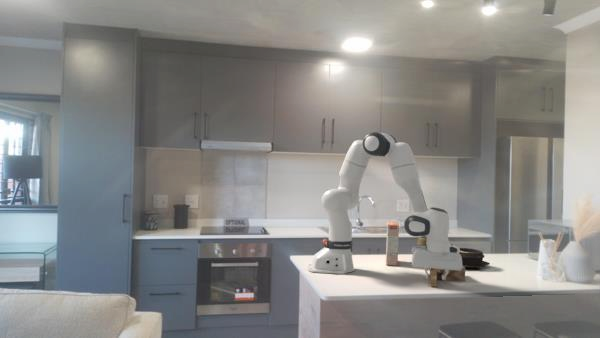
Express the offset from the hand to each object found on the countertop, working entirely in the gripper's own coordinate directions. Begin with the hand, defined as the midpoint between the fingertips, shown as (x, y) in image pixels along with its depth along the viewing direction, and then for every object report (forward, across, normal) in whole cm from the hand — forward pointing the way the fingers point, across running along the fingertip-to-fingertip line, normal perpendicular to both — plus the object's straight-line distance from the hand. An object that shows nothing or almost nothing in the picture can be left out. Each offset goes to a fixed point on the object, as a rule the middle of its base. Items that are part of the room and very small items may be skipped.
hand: (436, 279), depth 173 cm
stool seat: (+2, +6, +15) cm, 16 cm away
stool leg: (+2, 0, +4) cm, 4 cm away
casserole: (+3, +22, +42) cm, 47 cm away
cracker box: (+3, -16, +40) cm, 43 cm away
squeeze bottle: (+3, +2, +52) cm, 52 cm away
